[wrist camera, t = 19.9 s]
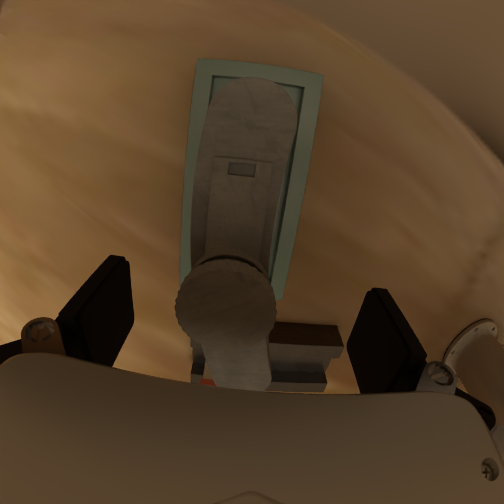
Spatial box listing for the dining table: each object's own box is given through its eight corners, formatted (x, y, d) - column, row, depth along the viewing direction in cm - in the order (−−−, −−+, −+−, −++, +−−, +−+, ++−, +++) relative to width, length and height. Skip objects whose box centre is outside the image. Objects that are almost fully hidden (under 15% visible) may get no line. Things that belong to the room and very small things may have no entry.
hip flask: (261, 259, 32) (270, 432, 14) (222, 258, 32) (194, 428, 13) (269, 103, 25) (314, 69, 7) (225, 101, 25) (162, 66, 7)
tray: (317, 78, 24) (323, 75, 22) (279, 287, 34) (281, 300, 32) (202, 63, 24) (197, 58, 21) (184, 276, 33) (179, 288, 31)
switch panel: (336, 325, 37) (344, 346, 33) (318, 371, 41) (323, 392, 37) (195, 313, 36) (190, 334, 32) (194, 362, 40) (190, 383, 36)
